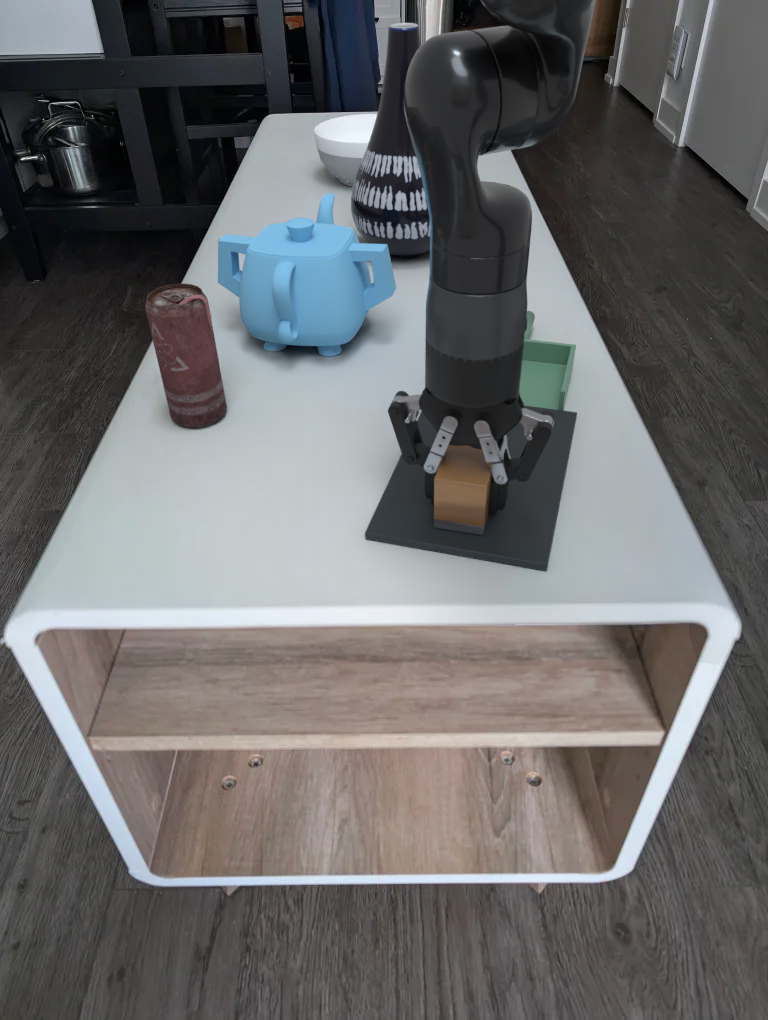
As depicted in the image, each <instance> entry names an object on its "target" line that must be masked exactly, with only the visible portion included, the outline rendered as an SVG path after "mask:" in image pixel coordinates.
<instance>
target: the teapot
mask: <svg viewBox="0 0 768 1020" xmlns="http://www.w3.org/2000/svg"><path fill="white" fill-rule="evenodd" d="M335 197H336V196H335V194H334V193H333V192H328V193H326V194H324V195H323V197H322V198H321V200H320V202H319V205H318V211H317V216H316V221H315V220H313V219H312V218H309V217H302V216H300V217H294V218H291V219H288V220H287V221H286V222H276V223H272V224H269V225H267V226H266V227H264V228H263V229H262V230H261V231H260V232H259V233H258V234H257V235H256V236H247V235H237V234H232V233H231V234H229V233H225V234H224V235H222V237H220V238H219V239H218V241H217V283H218V284H219V285H220V286H222V287H223V288H225V289H226V290H228V291H229V292H231V293H232V294H233V295H235V296H236V297H238V298H239V303H238V304H239V315H240V320H241V322H242V324H243V326H244V328H245V329H246V330H247V332H248V333H249V334H250V335H251V336H252V337H253V338H255V339H257V340H262V341H264V342H265V343H264V344H263V348H264V350H266V351H267V352H268V351H269V352H279V351H282V350H284V349H285V348H287V347H288V346H298V347H300V346H301V347H317V353H318V354H319V355H321V356H324V357H333V356H337V355H339V354H340V353H341V352H342V350H343V349H342V347H341V345H344V344H347V343H349V342H350V341H352V340H353V339H354V338H355V336H356V334H357V333H358V332H359V331H360V329H361V328H362V325H363V323H364V322H365V318H366V317H367V314H368V313H369V310H371V309H372V308H374V307H376V306H378V305H379V304H381V303H382V302H384V301H386V300H388V299H390V298H391V297H393V295H394V293H395V291H396V290H397V284H396V279H395V275H394V269H393V265H392V261H391V256H390V254H389V249H388V244H369V243H366V242H365V243H363V242H360V241H359V239H358V236H357V234H356V232H355V230H354V229H353V228H351V227H349V226H345V225H339V224H335V222H334V203H335ZM239 254H241V255H245V256H244V260H243V265H242V270H241V268H240V256H239ZM367 261H368V262H369V261H370V263H371V272H372V277H373V278H372V279H373V282H372V279H371V274H370V273H371V272H370V268H369V265H368V262H367Z"/></svg>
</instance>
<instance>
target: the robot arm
mask: <svg viewBox="0 0 768 1020" xmlns="http://www.w3.org/2000/svg"><path fill="white" fill-rule="evenodd" d="M479 1H480V2H481V4H482V5H483V6H484V8H485V9H486V10H487V11H488V12H489V13H490V14H491V15H492V16H493V17H494V18H496V19H497V20H499V21H500V22H502V23H503V24H505V25H500V26H491V27H485V28H477V29H470V30H461V31H452V32H444V33H440V34H436V35H434V36H431V37H430V38H427V40H425V41H423V43H422V44H420V47H419V49H418V50H417V51H416V53H415V55H414V57H413V58H412V60H411V63H410V65H409V68H408V71H407V74H406V79H405V83H404V111H405V116H406V121H407V126H408V129H409V133H410V137H411V140H412V144H413V147H414V151H415V154H416V158H417V162H418V166H419V170H420V174H421V178H422V183H423V188H424V192H425V197H426V202H427V207H428V211H429V218H430V225H431V227H430V251H429V278H428V279H429V280H428V287H427V293H426V300H425V344H424V345H425V349H424V350H425V352H424V354H425V355H424V356H425V357H424V360H425V361H424V371H425V372H424V388H423V390H422V392H421V394H412V395H409V393H407V391H404V390H399V391H396V393H395V395H394V397H393V399H392V400H391V403H390V404H389V406H388V409H387V413H388V416H389V419H390V422H391V425H392V429H393V431H394V432H393V433H394V435H395V437H396V440H397V443H398V446H399V449H400V453H401V454H402V456H403V459H404V461H405V462H406V463H407V464H410V465H413V464H415V463H416V464H418V465H420V466H422V467H423V469H424V470H425V495H426V497H427V498H429V499H431V505H434V478H435V476H436V473H437V470H438V468H439V465H440V463H441V460H442V458H443V456H444V454H445V452H446V450H447V447H448V445H454V446H464V445H467V446H470V447H473V448H476V449H482V451H483V454H484V457H485V461H486V463H487V464H489V466H490V470H491V473H492V476H493V477H492V480H491V484H490V497H489V511H488V514H491V515H496V513H497V510H503V509H504V507H505V504H506V501H507V497H508V487H509V481H511V480H514V479H517V480H518V481H520V482H526V481H527V480H528V479H529V477H530V475H531V473H532V472H533V470H534V468H535V466H536V464H537V462H538V460H539V458H540V456H541V454H542V452H543V450H544V448H545V446H546V444H547V442H548V440H549V438H550V436H551V432H552V428H553V424H554V419H555V415H554V413H553V412H551V411H549V410H545V411H543V412H541V414H539V413H537V412H534V411H532V410H529V409H526V408H524V403H523V401H522V399H521V397H520V393H519V389H520V379H521V369H522V358H523V348H524V338H525V332H526V330H527V311H528V286H527V285H528V284H527V282H528V269H529V260H530V249H531V248H530V247H531V236H532V226H533V210H532V205H531V201H530V199H529V197H528V196H527V195H526V194H525V193H524V192H523V191H522V190H521V189H519V188H517V187H515V186H513V185H510V184H505V183H501V182H495V181H483V180H481V178H480V174H479V171H478V161H479V157H480V156H481V157H482V156H485V155H491V154H497V153H502V152H508V151H514V150H520V149H525V148H529V147H533V146H534V145H538V144H541V142H543V141H545V140H546V139H548V138H549V137H550V136H551V135H552V134H553V133H554V132H555V131H556V130H557V129H558V128H560V125H562V123H563V122H564V121H565V119H566V118H567V116H568V114H569V113H570V111H571V109H572V107H573V104H574V102H575V99H576V96H577V91H578V86H579V82H580V78H581V73H582V67H583V64H584V63H583V62H584V58H585V54H586V50H587V45H588V41H589V37H590V33H591V28H592V22H593V16H594V12H595V7H596V3H597V0H479ZM421 411H422V412H423V414H424V415H425V416H426V418H427V419H428V420H429V422H430V423H431V424H432V426H433V427H434V428H435V430H436V431H437V432H438V433H437V436H436V438H435V440H434V443H433V445H432V447H429V446H427V445H424V443H423V439H422V436H421V433H420V430H419V427H418V423H417V420H418V417H419V415H420V412H421ZM518 423H521V424H522V425H523V426H524V432H523V433H524V436H525V437H526V438H527V440H528V441H527V443H526V445H525V447H524V449H523V451H522V453H521V455H520V458H513V459H511V457H510V453H509V450H508V446H507V436H506V434H507V433H508V432H509V431H510V430H512V429H513V428H514V427H515V426H516V425H517V424H518Z"/></svg>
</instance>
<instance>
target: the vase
mask: <svg viewBox="0 0 768 1020" xmlns="http://www.w3.org/2000/svg"><path fill="white" fill-rule="evenodd" d="M420 33H421V32H420V25H419V24H417V23H415V22H396V23H392V24H390V25H389V26H388V29H387V46H386V58H385V65H384V73H383V74H384V75H383V81H382V87H381V88H382V89H381V93H380V100H379V104H378V110H377V112H376V114H377V117H376V121H375V124H374V128H373V131H372V134H371V137H370V140H369V143H368V145H367V148H366V151H365V153H364V156H363V159H362V161H361V164H360V166H359V169H358V172H357V174H356V177H355V180H354V184H353V187H352V189H351V195H350V211H351V212H350V213H351V217H352V221H353V224H354V226H355V228H356V231H358V234H359V235H360V236H361V237H362V238H363V240H364V241H365V242H366V243H367V244H388V249H389V254H390V258H393V259H394V258H395V259H400V260H401V259H402V260H407V259H415V258H419V257H422V256H424V255H425V254H426V253H427V252H430V227H431V225H430V218H429V211H428V207H427V202H426V197H425V192H424V188H423V183H422V178H421V174H420V170H419V166H418V162H417V158H416V154H415V151H414V147H413V144H412V140H411V137H410V133H409V129H408V126H407V121H406V116H405V111H404V83H405V79H406V74H407V71H408V68H409V65H410V63H411V60H412V58H413V57H414V55H415V53H416V51H417V50H418V49H419V47H420V46H421V35H420Z"/></svg>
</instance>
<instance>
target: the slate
mask: <svg viewBox="0 0 768 1020" xmlns="http://www.w3.org/2000/svg"><path fill="white" fill-rule="evenodd" d="M524 408H526V409H529V410H532V411H534V412H537V413H539V414H541V412H543V411H545V410H549V411H551V412H553V413H554V415H555V419H554V424H553V428H552V432H551V436H550V438H549V440H548V442H547V444H546V446H545V448H544V450H543V452H542V454H541V456H540V458H539V460H538V462H537V464H536V466H535V468H534V470H533V472H532V473H531V475H530V477H529V479H528V480H527V481H526V482H520V481H518V480H517V479H514V480H511V481H509V487H508V497H507V501H506V504H505V507H504V509H503V510H497V513H496V515H491V514H490V515H489V519H488V522H487V526H486V529H485V533H484V535H483V536H481V535H475V534H469V533H463V532H457V531H452V530H446V529H440V528H434V505H431V499H429V498H427V497H426V495H425V470H424V469H423V467H422V466H420V465H418V464H416V463H415V464H413V465H410V464H407V463H406V462H405V461H404V459H403V456H402V453H401V454H400V456H399V458H398V461H397V463H396V465H395V468H394V469H393V471H392V473H391V476H390V478H389V481H388V482H387V485H386V487H385V489H384V491H383V493H382V495H381V497H380V500H379V502H378V504H377V506H376V508H375V510H374V512H373V515H372V517H371V519H370V522H369V523H368V525H367V528H366V530H365V532H364V538H365V540H367V541H374V542H379V543H385V544H391V545H397V546H403V547H409V548H413V549H419V550H424V551H430V552H437V553H443V554H446V555H453V556H459V557H463V558H464V557H465V558H470V559H474V560H475V559H476V560H481V561H488V562H491V563H498V564H504V565H510V566H515V567H520V568H527V569H532V570H537V571H542V572H546V571H548V565H549V561H550V556H551V551H552V546H553V540H554V535H555V530H556V526H557V520H558V515H559V509H560V506H561V505H560V504H561V500H562V495H563V488H564V484H565V478H566V474H567V468H568V463H569V458H570V453H571V447H572V444H573V437H574V432H575V427H576V422H577V416H578V412H577V411H570V410H564V409H563V410H555V409H547V408H540V407H532V406H524ZM416 420H417V423H418V427H419V430H420V433H421V436H422V439H423V443H424V445H427V446H429V447H432V445H433V443H434V440H435V438H436V436H437V433H438V432H437V431H436V430H435V428H434V427H433V426H432V424H431V423H430V422H429V420H428V419H427V418H426V416H425V415H424V414H423V412H422V411H421V410H420V412H419V415H418V417H417V419H416ZM523 432H524V426H523V425H522V424H521V423H518V424H517V425H516V426H515V427H514V428H513V429H512V430H510V431H509V432H508V433H507V434H506V436H507V446H508V450H509V453H510V457H511V459H513V458H520V455H521V453H522V451H523V449H524V447H525V445H526V443H527V441H528V440H527V438H526V437H525V436H524V433H523Z"/></svg>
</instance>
